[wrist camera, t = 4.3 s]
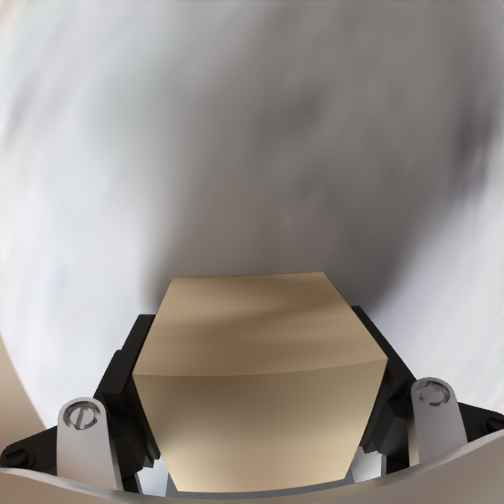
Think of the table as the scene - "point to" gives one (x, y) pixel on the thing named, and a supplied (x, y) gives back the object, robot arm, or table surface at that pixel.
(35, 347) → the table surface
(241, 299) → the oak cube
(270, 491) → the grey base block
